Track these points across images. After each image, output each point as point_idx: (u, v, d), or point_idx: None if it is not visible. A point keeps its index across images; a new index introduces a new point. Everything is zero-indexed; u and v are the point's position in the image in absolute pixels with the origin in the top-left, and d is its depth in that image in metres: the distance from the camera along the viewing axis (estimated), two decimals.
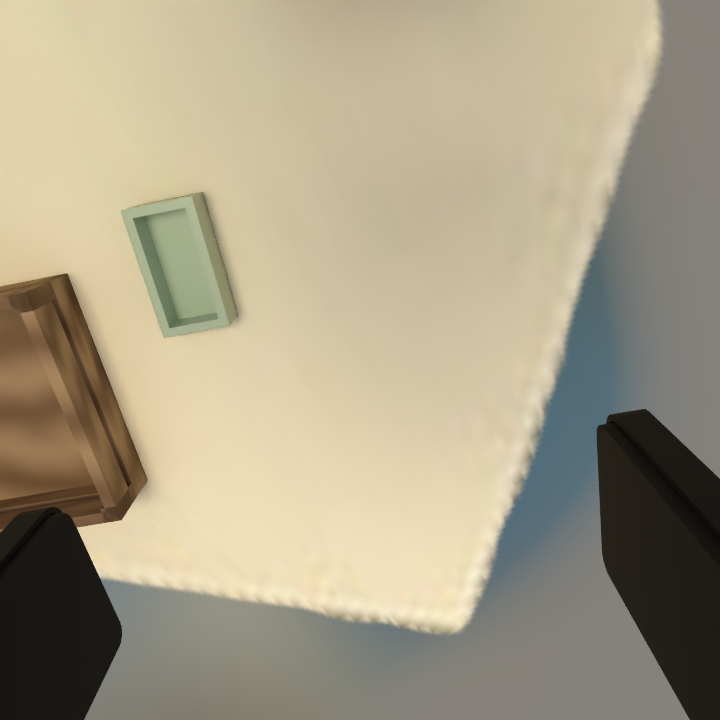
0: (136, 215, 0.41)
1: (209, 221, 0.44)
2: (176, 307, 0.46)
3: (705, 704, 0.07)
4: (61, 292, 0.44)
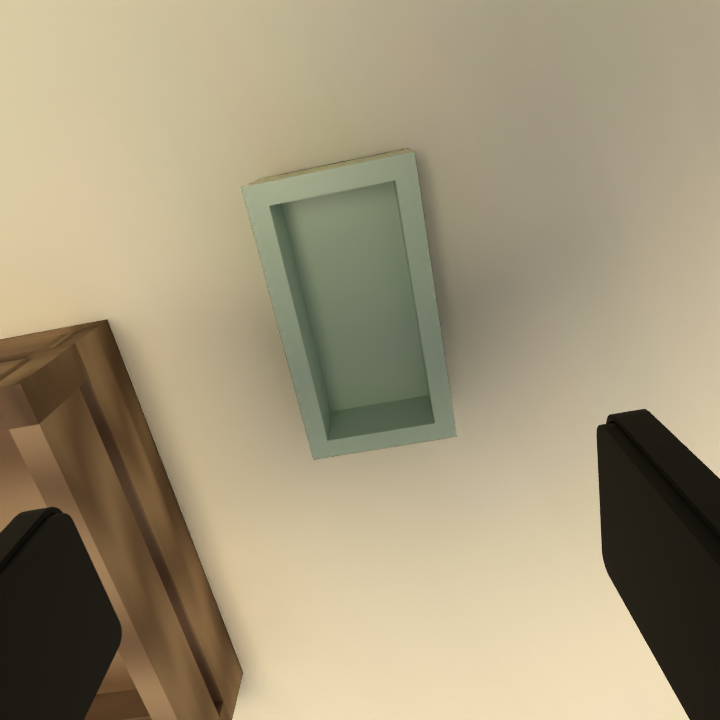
0: (278, 198, 0.17)
1: None
2: (329, 388, 0.22)
3: (704, 703, 0.07)
4: (97, 362, 0.21)
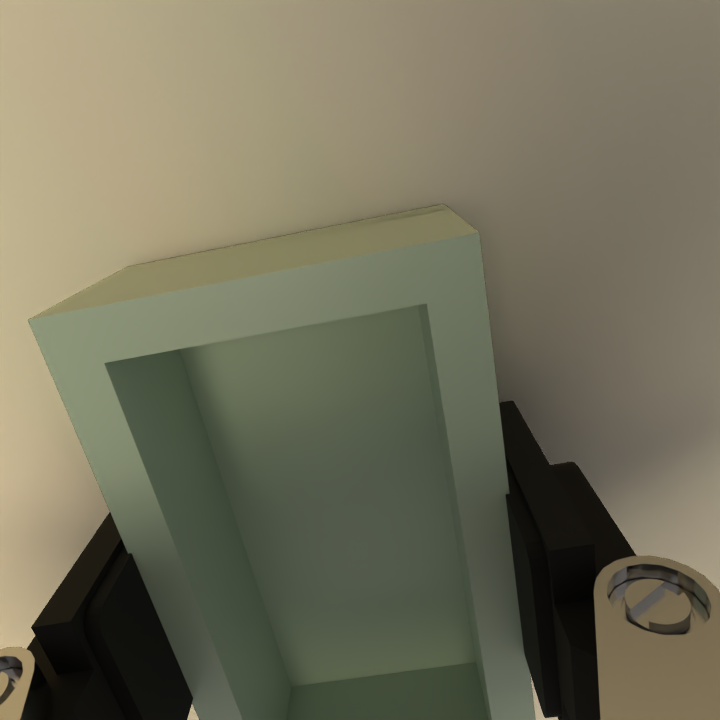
0: (126, 346, 0.07)
1: None
2: (287, 652, 0.12)
3: (531, 652, 0.08)
4: None
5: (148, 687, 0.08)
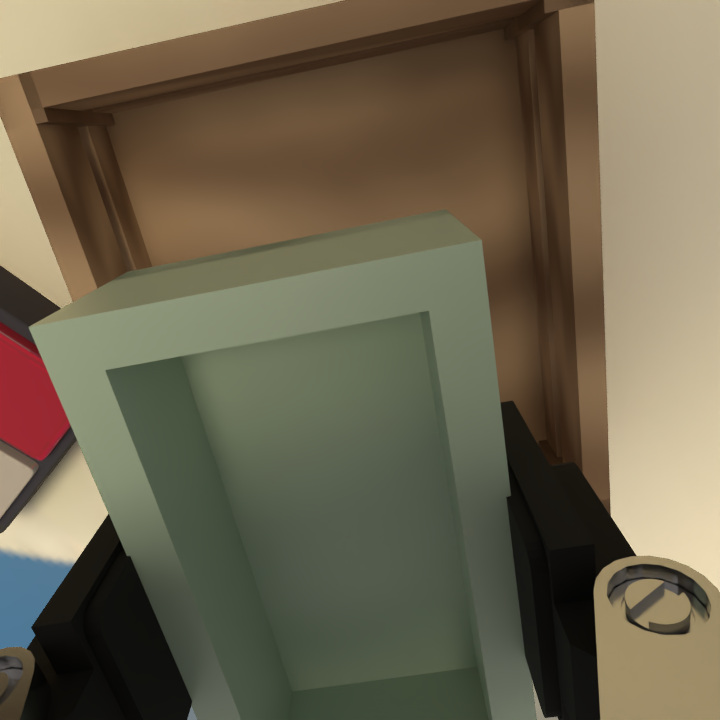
0: (127, 354, 0.07)
1: None
2: (288, 656, 0.12)
3: (530, 651, 0.08)
4: None
5: (148, 687, 0.08)
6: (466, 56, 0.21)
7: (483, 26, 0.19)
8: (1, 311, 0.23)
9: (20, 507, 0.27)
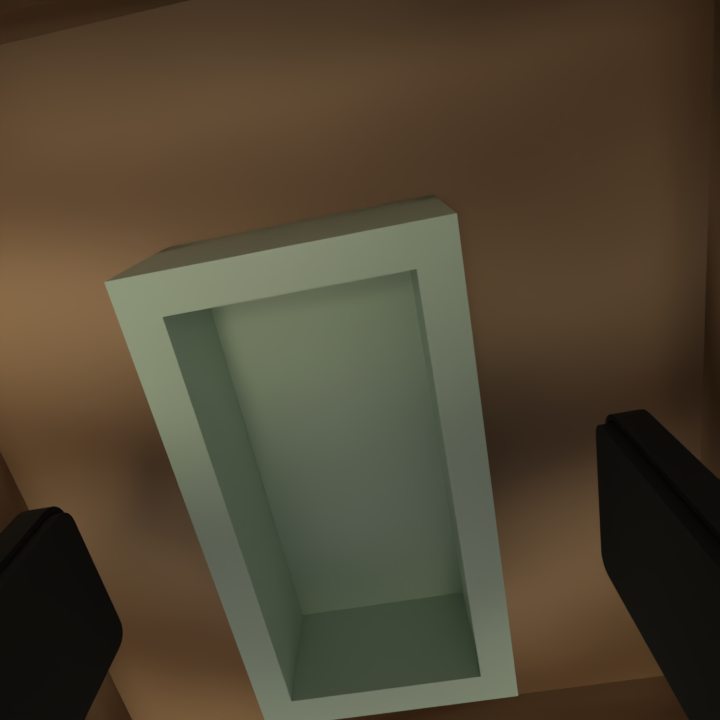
0: (180, 303, 0.09)
1: None
2: (299, 583, 0.14)
3: (702, 702, 0.07)
4: None
5: None
6: None
7: None
8: None
9: None
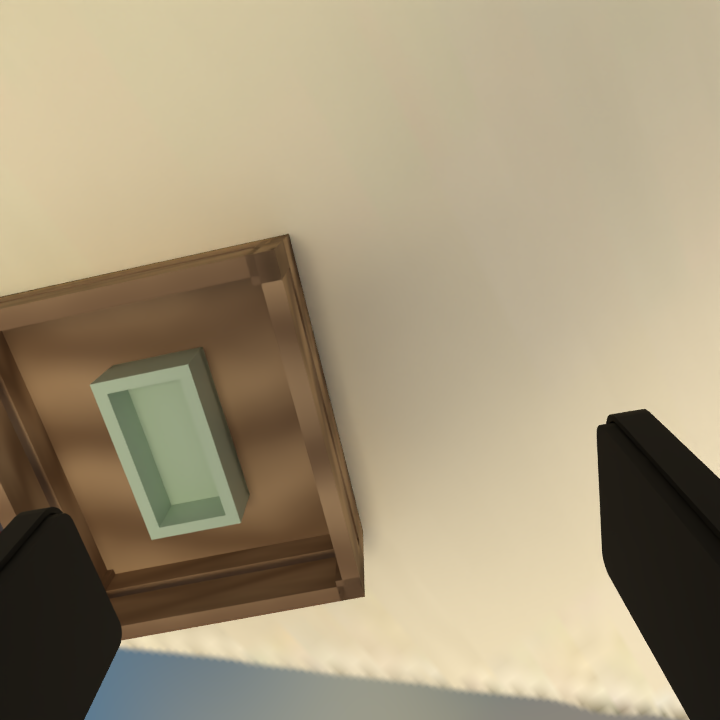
0: (112, 390, 0.30)
1: (212, 383, 0.32)
2: (168, 490, 0.34)
3: (703, 703, 0.07)
4: (290, 259, 0.30)
5: None
6: None
7: None
8: None
9: None
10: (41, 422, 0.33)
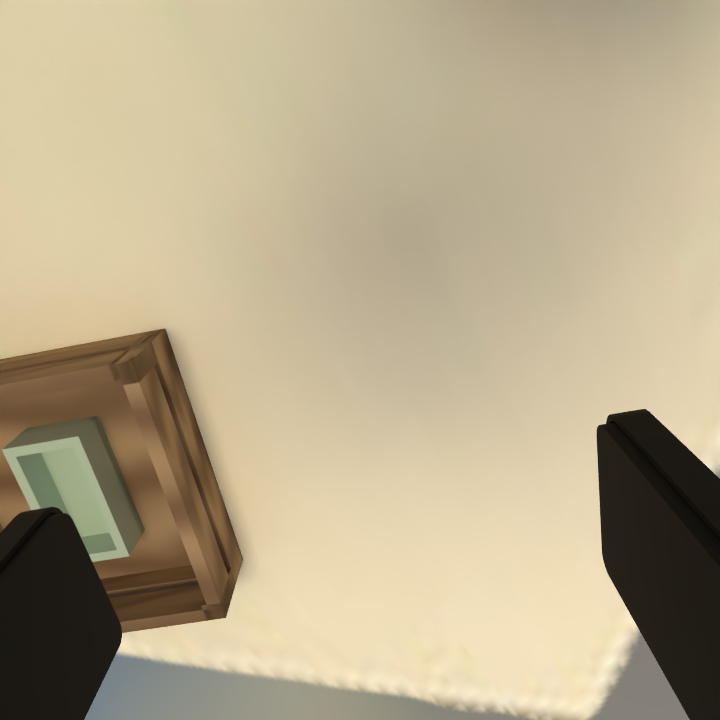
0: (19, 454, 0.37)
1: (106, 444, 0.40)
2: (76, 526, 0.42)
3: (703, 703, 0.07)
4: (161, 353, 0.37)
5: None
6: None
7: None
8: None
9: None
10: None
